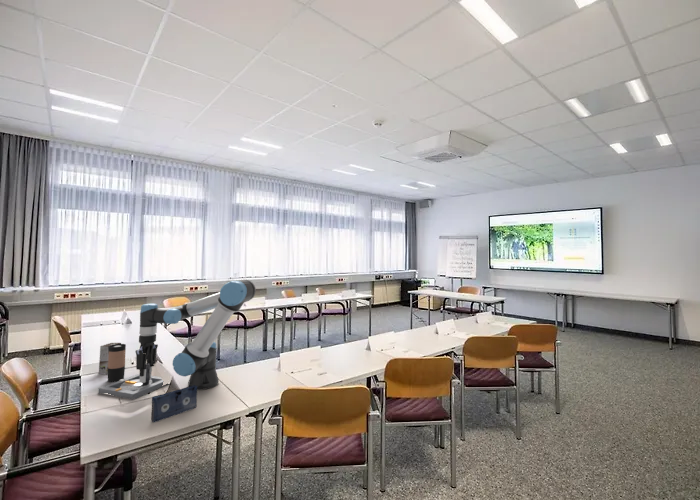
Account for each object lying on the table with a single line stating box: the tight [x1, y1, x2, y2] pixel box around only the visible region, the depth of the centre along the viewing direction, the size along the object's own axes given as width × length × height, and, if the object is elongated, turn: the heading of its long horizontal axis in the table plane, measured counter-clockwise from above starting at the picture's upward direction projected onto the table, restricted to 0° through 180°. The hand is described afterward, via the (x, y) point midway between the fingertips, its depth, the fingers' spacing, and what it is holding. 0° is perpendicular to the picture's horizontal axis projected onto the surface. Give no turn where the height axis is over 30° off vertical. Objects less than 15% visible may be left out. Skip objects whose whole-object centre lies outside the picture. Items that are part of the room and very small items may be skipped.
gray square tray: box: [97, 373, 164, 400], centre depth 167 cm, size 22×22×4 cm
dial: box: [120, 362, 152, 391], centre depth 167 cm, size 14×14×12 cm
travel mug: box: [107, 343, 127, 383], centre depth 178 cm, size 8×8×20 cm
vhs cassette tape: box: [150, 385, 198, 423], centre depth 143 cm, size 18×3×10 cm, turn 141°
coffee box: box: [98, 342, 122, 375], centre depth 194 cm, size 9×6×16 cm
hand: (145, 380), depth 166 cm, fingers open, 3 cm apart
